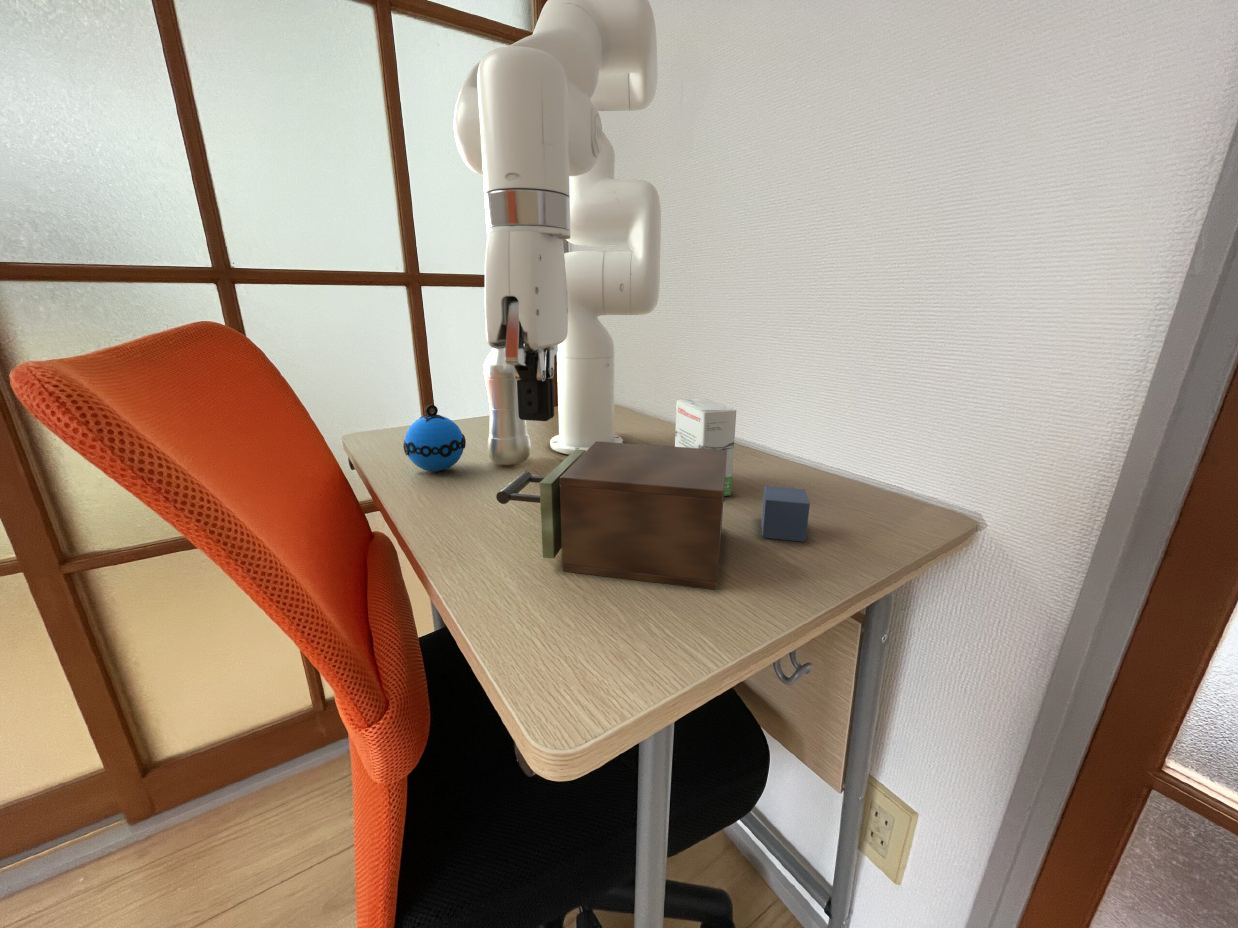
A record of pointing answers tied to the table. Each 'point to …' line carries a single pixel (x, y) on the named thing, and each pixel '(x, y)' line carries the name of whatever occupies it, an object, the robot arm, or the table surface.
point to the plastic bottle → (504, 412)
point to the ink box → (707, 429)
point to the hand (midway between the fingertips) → (536, 418)
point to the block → (785, 513)
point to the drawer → (543, 501)
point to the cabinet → (644, 513)
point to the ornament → (434, 442)
